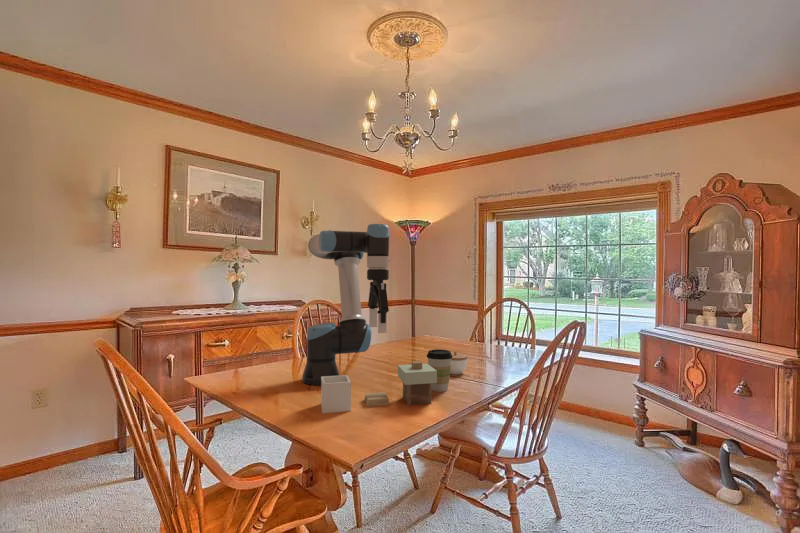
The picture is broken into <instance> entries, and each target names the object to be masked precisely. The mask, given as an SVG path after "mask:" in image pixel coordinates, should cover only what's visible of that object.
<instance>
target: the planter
mask: <svg viewBox="0 0 800 533" xmlns="http://www.w3.org/2000/svg"><path fill="white" fill-rule="evenodd" d="M320 406H321V413H322V414H330V413H331V414H332V413H342V412H344V413H345V412H351V411H352V382H351V379H350V376H349V375H347V374H346V375H344V374H343V375H340V376H323V377H321V385H320Z"/></svg>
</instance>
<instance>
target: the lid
mask: <svg viewBox="0 0 800 533" xmlns="http://www.w3.org/2000/svg"><path fill="white" fill-rule="evenodd" d="M397 377H398V378H399V380H400V381H401V382H402V384H403V383H404V384H405V385H412V384H428V383H437V371H436V370H435V369H434V368H432V367H431V366H430V365H429V364H428V363H423V362H422V361H420V360H415V361H411V364H398V365H397Z"/></svg>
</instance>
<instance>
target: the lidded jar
mask: <svg viewBox="0 0 800 533" xmlns="http://www.w3.org/2000/svg"><path fill="white" fill-rule="evenodd" d="M451 354H452V358H451V370H450V375H462V374H463V372H465V370H466V369H467V365H468V355H467V354H465V353H461V352H459V353H458V352H457V351H454V352H451Z"/></svg>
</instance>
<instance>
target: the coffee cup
mask: <svg viewBox="0 0 800 533" xmlns="http://www.w3.org/2000/svg"><path fill="white" fill-rule="evenodd" d="M451 353H452V352H451V350H448V349H438V348H436V349H430V350H428V351H427V354H426V358H427V362H428V363H427V364H429V365H430V366H431V367H432V368H434V369H435V370H436V371H437V383H431V391H433V392H437V393H440V392H443V393H444V392H447V391H448V390H449V383H450V378H451V377H450V376H451V374H450V370H451V358H452V354H451Z"/></svg>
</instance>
